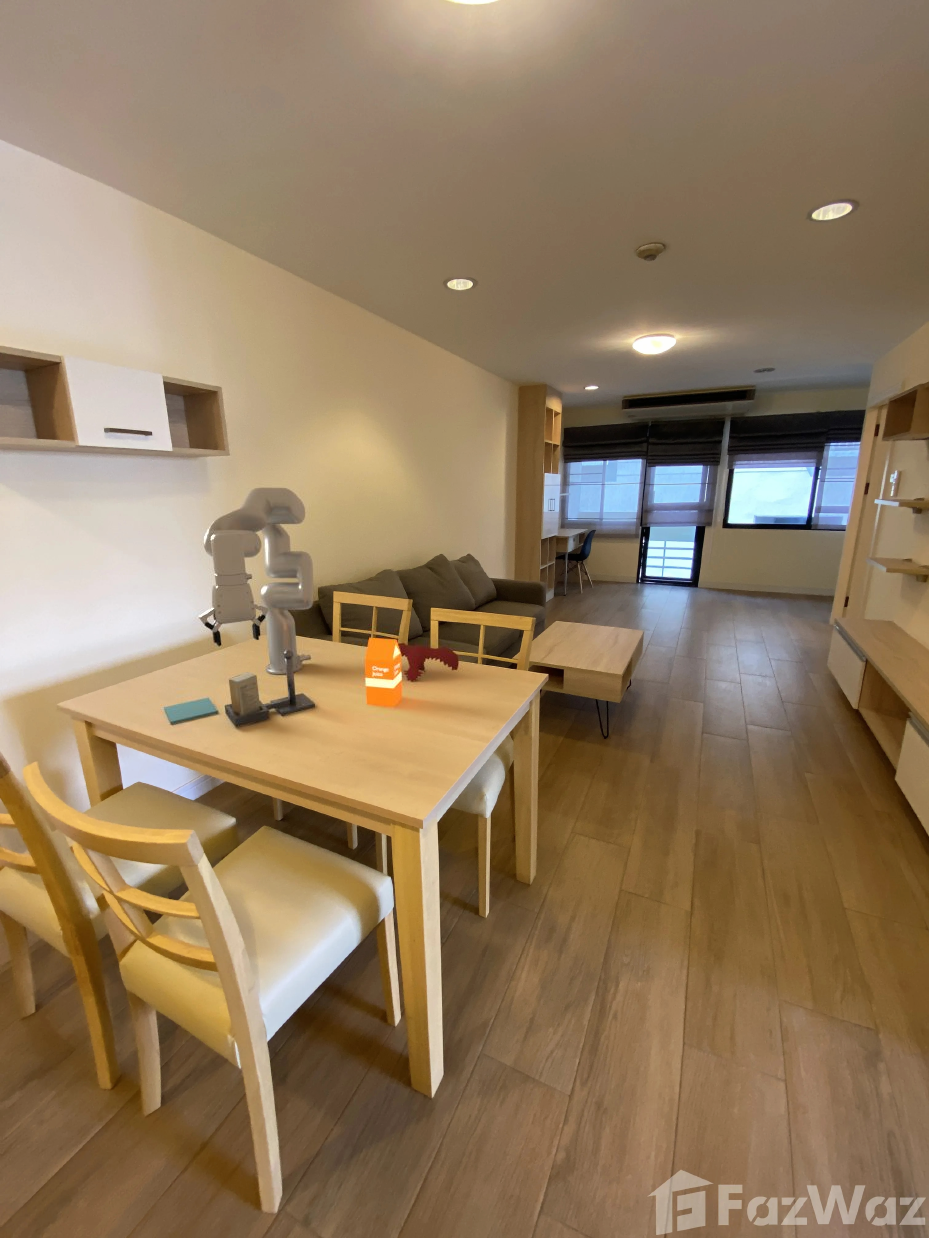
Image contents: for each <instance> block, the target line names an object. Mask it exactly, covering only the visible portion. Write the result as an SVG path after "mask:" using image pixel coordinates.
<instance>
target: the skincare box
mask: <svg viewBox="0 0 929 1238" xmlns="http://www.w3.org/2000/svg"><path fill="white" fill-rule="evenodd" d="M228 684H229V693H230V701H231V704H232V710H233V711H234V712H235V714H236V715H237V716H242V715H246V714H250V713H254V712H258V711H261V710H260V701H261V700H260V695H259V686H258V685H259V684H258V677H257V674H254V673H250V672H248V671H247V672H245V673H242V674H238V675H236V676H234V677H231V678H228ZM259 700H260V701H259Z"/></svg>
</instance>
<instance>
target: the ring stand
mask: <svg viewBox="0 0 929 1238" xmlns="http://www.w3.org/2000/svg"><path fill="white" fill-rule="evenodd" d="M293 655H294V654H293V652H292V651H291V650H286V651H285V652H284V654H283V656H284V658H285V662H286V674H285V675H286V682H287V683H286V684H287V693H288V694H287V696H286V697H280V698H276V699H273V700H270V701H269V702H267V703H266V702H265V703H263V702H262V701H261V700H260V699H259V701H260V710H261V711H258V712H254V713H250V714H246V715H242V716H237V715H236V714H235V712H234V711H233V710H232V703H228V704H225V705H224V712H225V715H226V716H227V717H228V719H229V720H230V722H231V723H232V724H233V726H234V727H235V728H238V727H242V726H246V725H250V724H254V723H258V722H261V721H265V720H268V719H270V710H275V711H276V712H277V713H278V714H279V715H280V716H281V717H285V716H287V715H291V714H295V713H299V712H303V711H306V710H311V709H314V708H316V703H315V702H314V701H313V700H312V699H310V698H309V697H308V696H307V695H305V694H304V693H298V694H296V685H295V675H294V674H295V672H294V671H293V659H292V658H293Z"/></svg>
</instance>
